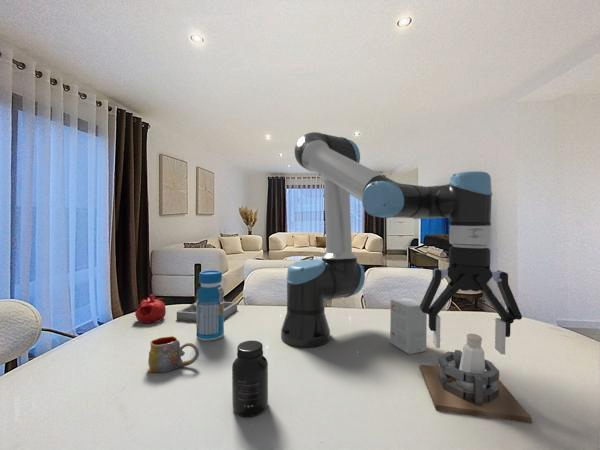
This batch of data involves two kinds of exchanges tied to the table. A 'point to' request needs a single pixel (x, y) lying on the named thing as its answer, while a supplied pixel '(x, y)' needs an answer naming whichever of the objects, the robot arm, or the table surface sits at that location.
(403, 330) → the small box
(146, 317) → the pomegranate
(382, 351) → the table surface
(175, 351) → the mug
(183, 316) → the parts tray
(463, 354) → the pepper shaker
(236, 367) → the supplement bottle
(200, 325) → the beverage bottle
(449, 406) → the collar base
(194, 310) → the pipe fitting
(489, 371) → the collar frame
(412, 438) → the table surface
